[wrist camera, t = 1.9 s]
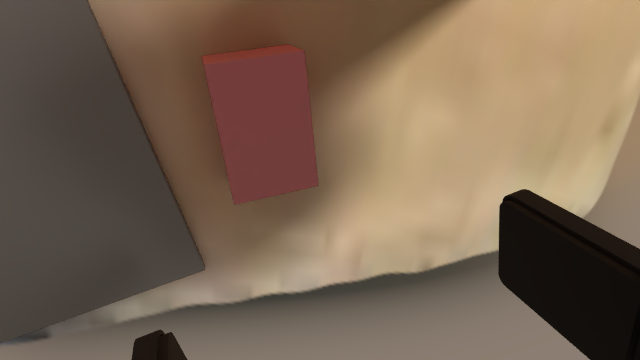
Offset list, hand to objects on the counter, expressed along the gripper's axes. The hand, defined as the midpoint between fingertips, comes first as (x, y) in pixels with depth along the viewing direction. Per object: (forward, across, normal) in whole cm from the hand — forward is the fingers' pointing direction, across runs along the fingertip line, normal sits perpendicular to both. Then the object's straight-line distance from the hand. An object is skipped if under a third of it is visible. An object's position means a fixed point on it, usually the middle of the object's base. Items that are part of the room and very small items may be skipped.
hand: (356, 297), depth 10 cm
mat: (+18, +16, 0) cm, 24 cm away
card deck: (+18, 0, 0) cm, 18 cm away
